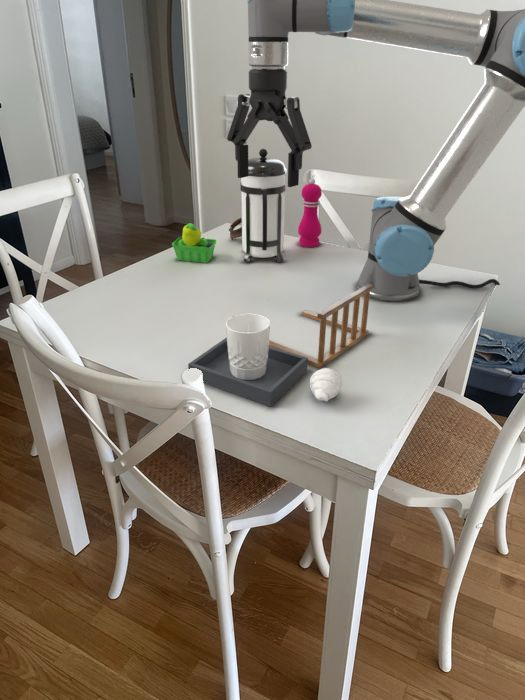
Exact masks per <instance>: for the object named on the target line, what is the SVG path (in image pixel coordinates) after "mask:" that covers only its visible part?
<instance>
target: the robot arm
mask: <svg viewBox="0 0 525 700" xmlns="http://www.w3.org/2000/svg"><path fill="white" fill-rule="evenodd" d="M247 18H248V19H247V28H248V65H249V66H250V67H251V68H250V69H249V71H248V89H249V91H250V94H249V93H242V94H241V93H240V94H238V96H237V106H236V109H235V112H234V116H233V118H232V121H231V124H230V127H229V131H228V134H227V137H226V138H227V141H228V142H231V143H233V145H234V153H235V154H234V156H235V157H234V158H235V161H236V162H237V178H238V179H241V178H243V177H247V176H248V159H249V144H247V143H248V142H247V141H248V139H249V138H250V136H251V134H252V133H253V131H254V129H255V128H256V126H257V125H258V124H259V122H260V121H267V122H273V123H274V125H277V127H278V130H279V131H280V133H281V134H282V136H283V138H284V140H285V142H286V143H287V146H288V147H289V149H290V150H291V151H290V152H288V159H287V188H293V187H296V186H299V182H300V180H299V178H300V170H302V167H303V154H304V152H305V151H309V150H311V149H312V147H313V145H312V142H311V139H310V135H309V133H308V130H307V127H306V124H305V121H304V118H303V116H302V115H303V114H302V112H301V103H300V98H299V97H298V96H292V97H288V98H287V96H286V91H287V90H288V71H287V69H285V67H287V66H288V65H289V33H315V34H317V35H321V36H331V37H337V38H345V39H352V40H357V41H364V42H370V43H377V44H381V45H388V46H394V47H401V48H406V49H412V50H418V51H424V52H430V53H436V54H442V55H448V56H454V57H455V56H456V57H459V58H460V57H461V58H466V59H467V60H468V62H469V64H470V65H472V66H473V65H474V66H480V67H484V69H483V74H484V75H483V76H484V84H483V85H481V88H480V89H479V91H478V92H477V93H476V95H475V97H474V99H473V100H472V102H471V103H470V104H469V106H468V107H467V109H466V111H465V112H464V113H463V115H462V116H461V117H460V120H459V121H458V122H457V124H456V126H454V129H453V130H452V131H451V133H450V135H449V136H448V138H447V139H446V141H445V142H444V144H443V145H442V147H441V148H440V150H439V151H438V153H437V154H436V156H435V157H434V159H433V160H432V162H431V163H430V165H429V166H428V168H427V169H426V171H424V174H423V175H422V177H421V178H420V180H419V181H418V182H417V184H416V186H415V187H414V189H413V190H412V192H411V193H410V194H409V195H407V196H380V197H377V198H375V199H374V201H373V205H372V208H371V213H372V214H371V222H370V223H371V224H370V233H369V241H368V252H367V259H366V261H365V263H364V266H363V268H362V270H361V273H360V274H359V277H358V280H357V288H356V289H357V290H358V289H360V288H362V287H364V286H365V285H367V284H371V285H373V290H371V291H370V298H371V299H374V300H379V301H384V302H404V301H408V300H412V299H414V298H416V297H417V296H418V295H419V293H420V284H421V285H430V286H435V287H451V286H460V287H464V288H468V289H473V290H476V289H482V288H484V287H486V286H488V285H490V284H492V283H493V284H494V285H496V286H501V283H500V282H499V281H498V280H497V279H495V278H490V279H488V280H486V281H484V282H482V283H478V284H471V283H467V282H464V281H458V280H452V281H447V282H440V281H433V280H427V279H426V280H425V279H420V278H419V275H418V274H419V273H421V272H422V271H423V270H424V269H426V268H427V267H428V266H429V264H430V263H431V261H432V258H433V256H434V252H435V245H436V243H437V242H438V241H439V239H440V238H441V236H442V235H443V234H444V232H445V231H446V230H447V224H446V217H447V216H448V215H449V213H450V211H451V210H452V209H453V208H454V206H455V205H456V203H457V202H458V200H459V198H461V196H462V195H463V193H464V192H465V190H466V189H467V187H468V186H469V185H470V184H471V182H472V181H473V179H474V177H475V176H476V175H477V174H478V172H479V171H480V170H481V168H482V167H483V165H485V163H486V161H487V160H488V159H489V157H490V156H491V154H492V153H493V151H494V150H495V148H496V147H497V146H498V144H499V143H500V142H501V140H502V138H503V137H504V136H505V134H506V133H507V132H508V130H509V129H510V128H511V126H512V125H513V124H514V122H515V120H516V119H517V118H518V116H519V115H520V114H521V112H522V111H523V110H524V108H525V8H523V9H517V10H496V9H495V10H493V9H487V8H486V9H485V10H484V11H482V12H481V13H473V12H467V11H460V10H453V9H448V8H441V7H435V6H429V5H422V4H417V3H409V2H403V1H398V0H397V1H396V0H247ZM250 107H251V109H250ZM285 109H286V110H287V112H286V110H285ZM249 110H250V111H249ZM370 298H369V299H370Z"/></svg>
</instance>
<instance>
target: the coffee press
mask: <svg viewBox="0 0 525 700" xmlns="http://www.w3.org/2000/svg"><path fill="white" fill-rule="evenodd" d="M268 153H269V152H268V150H267V149H265V148H261V149H260V150H259V152H258V154H259V157H252V158H248V176H247V177H243V178H240V179H241V180H240V183H239V184H240V185H239V186H240V191H241V218H242V222H241V227H242V236H241V244H242V246H241V247H242V248H241V249H242V251H243V253H244V254H245V255H244V257H243V262H244V263H247V264H249V263H250V262H251V261H252V259H253V258H264V259H265V258H274V259H275V261H276V262H277V263H282V262H284V256H283V254H282V252H283V251H284V244H285V243H284V242H285V206H286V205H285V202H286V201H285V200H286V199H285V198H286V191H287V189H286V188H287V183H286V175H287V174H288V168H286V166H285V163H284V162H283V161H281V160H280V159H278V158H276V157H275V158H274V157H267V155H268Z"/></svg>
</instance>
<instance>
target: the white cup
mask: <svg viewBox="0 0 525 700" xmlns="http://www.w3.org/2000/svg"><path fill="white" fill-rule="evenodd" d="M270 331H271V320H270V319H269V318H267V317H266V316H263V315H261V314H258V313H239V314H236V315H232V316H229V318H227V320H226V321H225V333H226V337H227V346H228V356H229V361H230V371H231V374H232V375H233V376H235V377H236V378H239V379H243V380H254V379H258V378H261V377H262V376H263V375H265V373H266V370H267V359H268V349H269V341H270V336H271V335H270V333H271V332H270Z"/></svg>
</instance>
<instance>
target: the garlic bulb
mask: <svg viewBox="0 0 525 700" xmlns="http://www.w3.org/2000/svg"><path fill="white" fill-rule="evenodd" d="M309 388H310V391H311V392H312V394H313V396H314V397H315V399H316V400H317V401H320V402H328V401H329V400H332V399H333V398H335V397H336V396H337V395H338V394H339V393H340V392H341V389H342V379H341V376H340V375H339V374H338V373H337V372H336V371H335V370H334V369H332V368H329V367H322V368H319V369H318V370H316V371H314V372H313V373H312V375H311V376H310V379H309Z"/></svg>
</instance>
